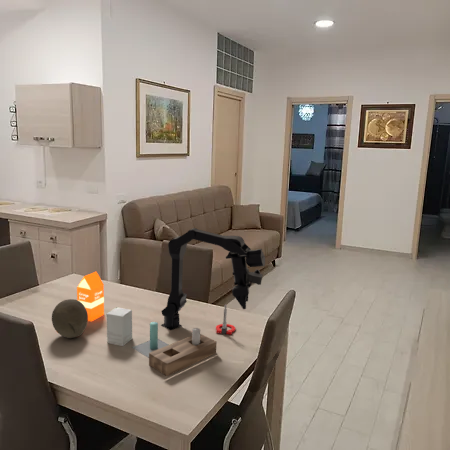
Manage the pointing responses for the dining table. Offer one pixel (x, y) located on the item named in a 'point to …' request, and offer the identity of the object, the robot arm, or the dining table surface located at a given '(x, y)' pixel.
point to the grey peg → (195, 336)
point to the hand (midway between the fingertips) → (245, 305)
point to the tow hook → (225, 325)
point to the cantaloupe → (70, 318)
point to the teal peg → (153, 335)
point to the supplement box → (119, 326)
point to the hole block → (181, 354)
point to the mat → (148, 347)
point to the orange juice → (92, 295)
